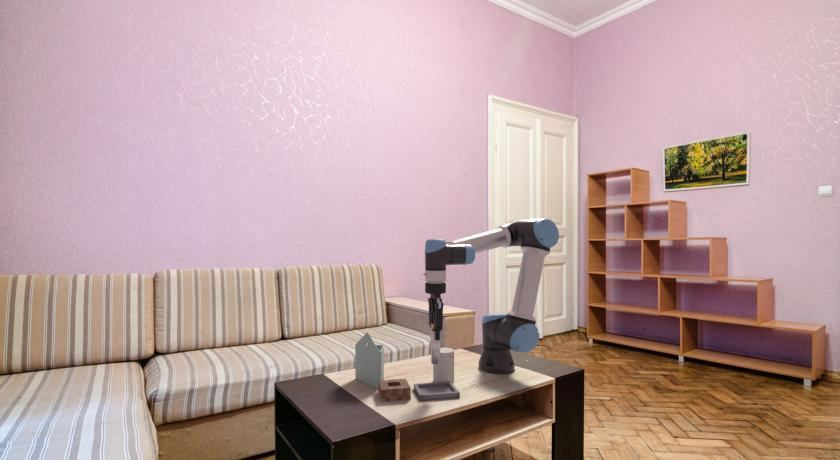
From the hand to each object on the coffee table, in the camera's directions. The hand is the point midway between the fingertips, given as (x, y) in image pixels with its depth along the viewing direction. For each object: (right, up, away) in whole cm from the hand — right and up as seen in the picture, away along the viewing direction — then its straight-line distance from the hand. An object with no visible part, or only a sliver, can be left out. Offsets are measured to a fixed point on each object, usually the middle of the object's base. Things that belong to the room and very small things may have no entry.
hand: (435, 347), depth 158 cm
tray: (0, -16, 0) cm, 16 cm away
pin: (0, -6, 0) cm, 6 cm away
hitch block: (-15, -16, -2) cm, 22 cm away
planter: (-23, -17, +12) cm, 31 cm away
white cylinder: (+4, -17, +13) cm, 21 cm away
